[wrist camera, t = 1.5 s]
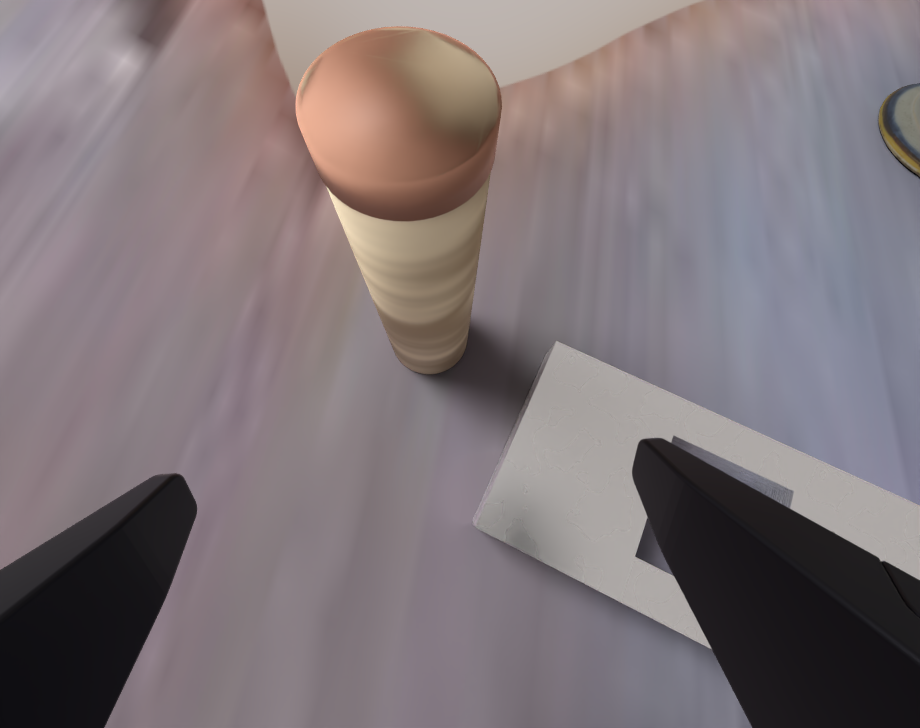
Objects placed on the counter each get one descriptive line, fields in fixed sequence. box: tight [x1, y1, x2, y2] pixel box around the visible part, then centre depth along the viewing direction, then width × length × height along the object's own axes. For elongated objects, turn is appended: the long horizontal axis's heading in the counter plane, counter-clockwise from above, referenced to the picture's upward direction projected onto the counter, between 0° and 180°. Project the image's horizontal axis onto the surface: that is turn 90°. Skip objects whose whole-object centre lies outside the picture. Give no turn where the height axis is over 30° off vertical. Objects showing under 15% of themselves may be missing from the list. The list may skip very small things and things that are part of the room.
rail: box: [472, 341, 920, 649], centre depth 19 cm, size 10×20×2 cm, turn 64°
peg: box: [296, 27, 502, 374], centre depth 16 cm, size 4×4×15 cm
